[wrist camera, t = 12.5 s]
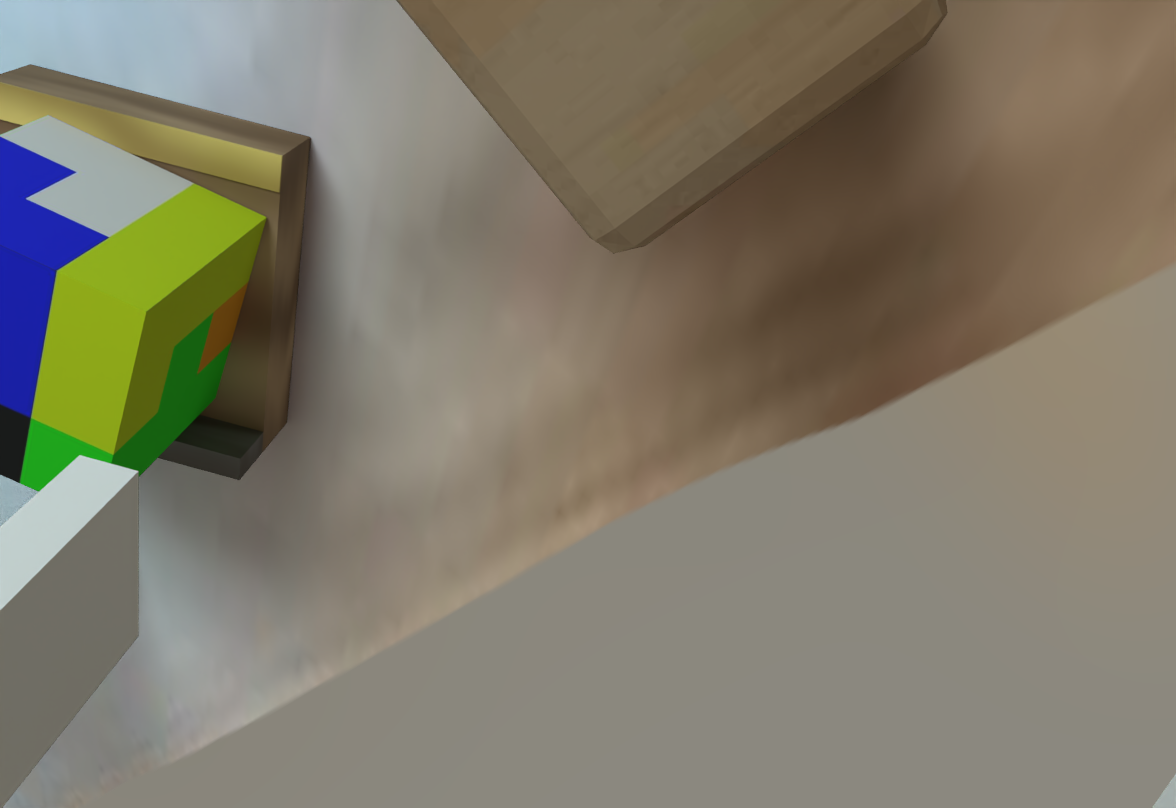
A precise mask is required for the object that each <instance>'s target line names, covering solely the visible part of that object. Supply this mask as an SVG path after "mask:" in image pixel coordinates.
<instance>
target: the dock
mask: <svg viewBox="0 0 1176 808" xmlns="http://www.w3.org/2000/svg"><path fill="white" fill-rule="evenodd" d="M47 115H49V116H51V117H53V118H56V119H58V120H60V121H62V122H64V123H66V124H68V125H71V126H73V127H75V128H77V129H79V130H81V131H83V132H86V133H88V134H90V135H92V136H94V137H96V138H98V139H101V140H103V141H105V142H107V143H109V144H111V145H113V146H116V147H118V148H120V149H122V150H124V151H126V152H128V153H131V154H133V155H135V156H137V157H139V158H141V159H143V160H146V161H148V162H150V163H152V164H154V165H156V166H158V167H161V168H163V169H165V170H167V171H169V172H171V173H173V174H176V175H178V176H180V177H182V178H184V179H186V180H188V181H191V182H193V183H195V184H197V185H199V186H201V187H203V188H206V189H208V190H210V191H212V192H214V193H216V194H218V195H221V196H223V197H225V198H227V199H229V200H231V201H233V202H236V203H238V204H240V205H242V206H244V207H246V208H248V209H251V210H253V211H255V212H257V213H259V214H261V215H263V216H266V217H267V218H266V222H265V225H264V229H263V233H262V236H261V240H260V243H259V247H258V250H257V254H256V257H255V261H254V264H253V268H252V271H251V275H250V278H249V282H248V285H247V289H246V292H245V296H244V299H243V303H242V306H241V310H240V314H239V317H238V321H237V324H236V328H235V331H234V335H233V338H232V342H231V345H230V349H229V352H228V356H227V359H226V363H225V366H224V370H223V373H222V377H221V380H220V384H219V387H218V391H217V395H216V398H215V399H214V400H213V401H212V402H211V403H210V404H209V405H208V406H207V407H206V408H205V409H204V410H203V411H202V412H201V414H200V415H199V416H198V417H197V418H196V419H195V420H194V421H193V422H192V423H191V424H190V425H189V426H188V427H187V428H186V429H185V430H184V431H183V432H182V433H181V434H180V435H179V436H178V437H177V438H176V439H175V440H174V441H173V442H172V443H171V444H170V445H169V446H168V447H167V448H166V449H165V451H164V452H163V453H162V454H161V455H160V456H159V457H158V458H161V459H164V460H168V461H172V462H175V463H179V464H183V465H186V466H190V467H194V468H197V469H201V470H205V471H208V472H212V473H216V474H219V475H223V476H227V477H230V478H234V479H238V480H240V479H241V477H242V476H243V475H244V474H245V473H246V471H247V470H248V469H249V468H250V467H251V465H252V464H253V463H254V462H255V461H256V459H257V458H258V457H259V456H260V454H261V453H262V452H263V451H264V450H265V448H266V447H267V446H268V445H269V444H270V442H271V441H272V440H273V439H274V438H275V436H276V435H277V434H278V433H279V432H280V430H281V429H282V428H283V427H284V425H285V424H286V423H287V416H288V403H289V391H290V379H291V367H292V355H293V342H294V330H295V318H296V306H297V294H298V282H299V269H300V257H301V245H302V233H303V221H304V208H305V196H306V184H307V172H308V160H309V147H310V137H308V136H304V135H300V134H296V133H292V132H288V131H285V130H281V129H277V128H273V127H269V126H265V125H262V124H258V123H254V122H250V121H246V120H242V119H238V118H235V117H231V116H227V115H223V114H219V113H215V112H212V111H208V110H204V109H200V108H196V107H192V106H188V105H185V104H181V103H177V102H173V101H169V100H165V99H162V98H158V97H154V96H150V95H146V94H142V93H138V92H135V91H131V90H127V89H123V88H119V87H115V86H111V85H108V84H104V83H100V82H96V81H92V80H88V79H85V78H81V77H77V76H73V75H69V74H65V73H61V72H58V71H54V70H50V69H46V68H42V67H38V66H35V65H31V64H30V65H27V66H24V67H21V68H18V69H15V70H12V71H9V72H6V73H3V74H0V135H1V134H4V133H6V132H8V131H11V130H13V129H16V128H18V127H20V126H23V125H25V124H28V123H30V122H32V121H35V120H37V119H40V118H42V117H44V116H47Z"/></svg>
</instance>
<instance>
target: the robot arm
mask: <svg viewBox="0 0 1176 808" xmlns="http://www.w3.org/2000/svg"><path fill="white" fill-rule="evenodd" d="M138 548H139V471H136V470H133V469H129V468H125V467H122V466H118V465H114V464H111V463H107V462H103V461H100V460H96V459H92V458H89V457H85V456H81V455H79V456H78V457H77V458H76V459H75V460H74V461H73V462H72V463H70V464H69V465H68V466H67V467H66V468H65V469H64V470H63V471H62V472H60V473H59V474H58V475H57V476H56V477H55V478H54V479H53V480H52V481H50V482H49V483H48V484H47V485H46V486H45V487H44V488H43V489H42V490H40V491H39V492H38V493H37V494H36V495H35V496H34V497H33V498H32V499H30V500H29V501H28V502H27V503H26V504H25V505H24V506H23V507H22V508H20V509H19V510H18V511H17V512H16V513H15V514H14V515H13V516H12V517H10V518H9V519H8V520H7V521H6V522H5V523H4V524H3V525H2V526H0V808H2V807H3V806H4V805H5V804H6V802H7V801H8V800H9V798H10V797H11V796H12V795H13V793H14V792H15V791H16V790H17V788H18V787H19V786H20V785H21V783H22V782H23V781H24V780H25V778H26V777H27V776H28V775H29V773H30V772H31V771H32V769H33V768H34V767H35V766H36V764H37V763H38V762H39V761H40V759H41V758H42V757H43V756H44V754H45V753H46V752H47V751H48V749H49V748H50V747H51V746H52V744H53V743H54V742H55V741H56V739H57V738H58V737H59V735H60V734H61V733H62V732H63V730H64V729H65V728H66V727H67V725H68V724H69V723H70V722H71V720H72V719H73V718H74V717H75V715H76V714H77V713H78V712H79V710H80V709H81V708H82V706H83V705H84V704H85V703H86V701H87V700H88V699H89V698H90V696H91V695H92V694H93V693H94V691H95V690H96V689H97V688H98V686H99V685H100V684H101V683H102V681H103V680H104V679H105V677H106V676H107V675H108V674H109V672H110V671H111V670H112V669H113V667H114V666H115V665H116V664H117V662H118V661H119V660H120V659H121V657H122V656H123V655H124V654H125V652H126V651H127V650H128V649H129V647H130V646H131V645H132V643H133V642H134V641H135V640H136V638H137V637H138ZM1152 808H1176V774H1175V776H1174V777H1173V779H1172V780H1171V781H1170V783H1169V784H1168V786H1167V787H1166V789H1165V790H1164V791H1163V793H1162V794H1161V796H1160V797H1159V799H1158V800H1157V802H1156V803H1155V805H1154V806H1153V807H1152Z"/></svg>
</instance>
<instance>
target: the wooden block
mask: <svg viewBox="0 0 1176 808" xmlns="http://www.w3.org/2000/svg"><path fill="white" fill-rule="evenodd" d="M396 1H397V2H398V3H399V4H400V5H401V7H402V8H403V9H404V10H405V12H406V13H407V14H408V15H409V16H410V18H411V19H412V20H413V21H414V23H415V24H416V25H417V26H418V27H419V29H420V30H421V31H422V32H423V34H424V35H425V36H426V37H427V39H428V40H429V41H430V42H431V43H432V45H433V46H434V47H435V48H436V50H437V51H438V52H439V53H440V54H441V56H442V57H443V58H444V59H445V61H446V62H447V63H448V64H449V65H450V67H451V68H452V69H453V70H454V72H455V73H456V74H457V75H458V77H459V78H460V79H461V80H462V81H463V83H464V84H465V85H466V86H467V88H468V89H469V90H470V91H471V92H472V94H473V95H474V96H475V97H476V99H477V100H478V101H479V102H480V103H481V105H482V106H483V107H484V108H485V110H486V111H487V112H488V113H489V115H490V116H491V117H492V118H493V119H494V121H495V122H496V123H497V124H498V126H499V127H500V128H501V129H502V130H503V132H504V133H505V134H506V135H507V137H508V138H509V139H510V140H511V142H512V143H513V144H514V145H515V146H516V148H517V149H518V150H519V151H520V153H521V154H522V155H523V156H524V157H525V159H526V160H527V161H528V162H529V164H530V165H531V166H532V167H533V168H534V170H535V171H536V172H537V173H538V175H539V176H540V177H541V178H542V180H543V181H544V182H545V183H546V184H547V186H548V187H549V188H550V189H551V191H552V192H553V193H554V194H555V195H556V197H557V198H558V199H559V200H560V202H561V203H562V204H563V205H564V206H565V208H566V209H567V210H568V211H569V213H570V214H571V215H572V216H573V218H574V219H575V220H576V221H577V222H578V224H579V225H580V226H581V227H582V229H583V230H584V231H585V232H586V233H587V235H588V236H589V237H590V238H591V239H593V240H594V241H596V242H597V243H599V244H600V245H602V246H603V247H605V248H606V249H607V250H609V251H610V252H612V253H613V254H615V253H618V252H621V251H626V250H630V249H634V248H638V247H643V246H646V245H647V244H648V243H650V242H651V241H653V240H654V239H655V238H657V237H658V236H660V235H661V234H662V233H664V232H665V231H667V230H668V229H669V228H671V227H672V226H673V225H675V224H676V223H678V222H679V221H680V220H682V219H683V218H685V217H686V216H687V215H689V214H690V213H692V212H693V211H694V210H696V209H697V208H699V207H700V206H701V205H703V204H704V203H706V202H707V201H708V200H710V199H711V198H713V197H714V196H715V195H717V194H718V193H720V192H721V191H722V190H724V189H725V188H727V187H728V186H729V185H731V184H732V183H733V182H735V181H736V180H738V179H739V178H740V177H742V176H743V175H745V174H746V173H747V172H749V171H750V170H752V169H753V168H754V167H756V166H757V165H759V164H760V163H761V162H763V161H764V160H766V159H767V158H768V157H770V156H771V155H773V154H774V153H775V152H777V151H778V150H780V149H781V148H782V147H784V146H785V145H787V144H788V143H789V142H791V141H792V140H793V139H795V138H796V137H798V136H799V135H800V134H802V133H803V132H805V131H806V130H807V129H809V128H810V127H812V126H813V125H814V124H816V123H817V122H819V121H820V120H821V119H823V118H824V117H826V116H827V115H828V114H830V113H831V112H833V111H834V110H835V109H837V108H838V107H840V106H841V105H842V104H844V103H845V102H847V101H848V100H849V99H851V98H852V97H853V96H855V95H856V94H858V93H859V92H860V91H862V90H863V89H865V88H866V87H867V86H869V85H870V84H872V83H873V82H874V81H876V80H877V79H879V78H880V77H881V76H883V75H884V74H886V73H887V72H888V71H890V70H891V69H893V68H894V67H895V66H897V65H898V64H900V63H901V62H902V61H904V60H905V59H907V58H908V57H909V56H911V55H912V54H913V53H915V52H916V51H918V50H919V49H920V48H922V47H923V46H925V45H926V44H927V42H928V41H929V39H930V38H931V37H932V35H933V34H934V32H935V31H936V29H937V28H938V26H939V25H940V23H941V22H942V20H943V19H944V17H945V16H946V15H947V6H946V0H396Z"/></svg>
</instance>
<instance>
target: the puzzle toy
mask: <svg viewBox="0 0 1176 808" xmlns="http://www.w3.org/2000/svg"><path fill="white" fill-rule="evenodd" d="M266 218H267V217H266V216H263V215H261V214H259V213H257V212H255V211H253V210H251V209H248V208H246V207H244V206H242V205H240V204H238V203H236V202H233V201H231V200H229V199H227V198H225V197H223V196H221V195H218V194H216V193H214V192H212V191H210V190H208V189H206V188H203V187H201V186H199V185H197V184H195V183H193V182H191V181H188V180H186V179H184V178H182V177H180V176H178V175H176V174H173V173H171V172H169V171H167V170H165V169H163V168H161V167H158V166H156V165H154V164H152V163H150V162H148V161H146V160H143V159H141V158H139V157H137V156H135V155H133V154H131V153H128V152H126V151H124V150H122V149H120V148H118V147H116V146H113V145H111V144H109V143H107V142H105V141H103V140H101V139H98V138H96V137H94V136H92V135H90V134H88V133H86V132H83V131H81V130H79V129H77V128H75V127H73V126H71V125H68V124H66V123H64V122H62V121H60V120H58V119H56V118H53V117H51V116H49V115H47V116H44V117H42V118H40V119H37V120H35V121H32V122H30V123H28V124H25V125H23V126H20V127H18V128H16V129H13V130H11V131H8V132H6V133H4V134H1V135H0V475H3V476H5V477H7V478H9V479H12V480H14V481H16V482H18V483H21V484H23V485H25V486H27V487H30V488H32V489H34V490H36V491H40V490H42V489H43V488H44V487H45V486H46V485H47V484H48V483H49V482H50V481H52V480H53V479H54V478H55V477H56V476H57V475H58V474H59V473H60V472H62V471H63V470H64V469H65V468H66V467H67V466H68V465H69V464H70V463H72V462H73V461H74V460H75V459H76V458H77V457H78V456H79V455H81V456H85V457H89V458H92V459H96V460H100V461H103V462H107V463H111V464H114V465H118V466H122V467H125V468H129V469H133V470H136V471H139V476H140V475H141V474H142V473H143V472H144V471H145V470H146V469H147V468H148V467H149V466H150V465H151V464H152V463H153V462H154V461H155V460H156V459H157V458H158V457H159V456H160V455H161V454H162V453H163V452H164V451H165V449H166V448H167V447H168V446H169V445H170V444H171V443H172V442H173V441H174V440H175V439H176V438H177V437H178V436H179V435H180V434H181V433H182V432H183V431H184V430H185V429H186V428H187V427H188V426H189V425H190V424H191V423H192V422H193V421H194V420H195V419H196V418H197V417H198V416H199V415H200V414H201V412H202V411H203V410H204V409H205V408H206V407H207V406H208V405H209V404H210V403H211V402H212V401H213V400H214V399H215V398H216V395H217V391H218V387H219V384H220V380H221V377H222V373H223V370H224V366H225V363H226V359H227V356H228V352H229V349H230V345H231V342H232V338H233V335H234V331H235V328H236V324H237V321H238V317H239V314H240V310H241V306H242V303H243V299H244V296H245V292H246V289H247V285H248V282H249V278H250V275H251V271H252V268H253V264H254V261H255V257H256V254H257V250H258V247H259V243H260V240H261V236H262V233H263V229H264V225H265V222H266Z"/></svg>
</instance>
